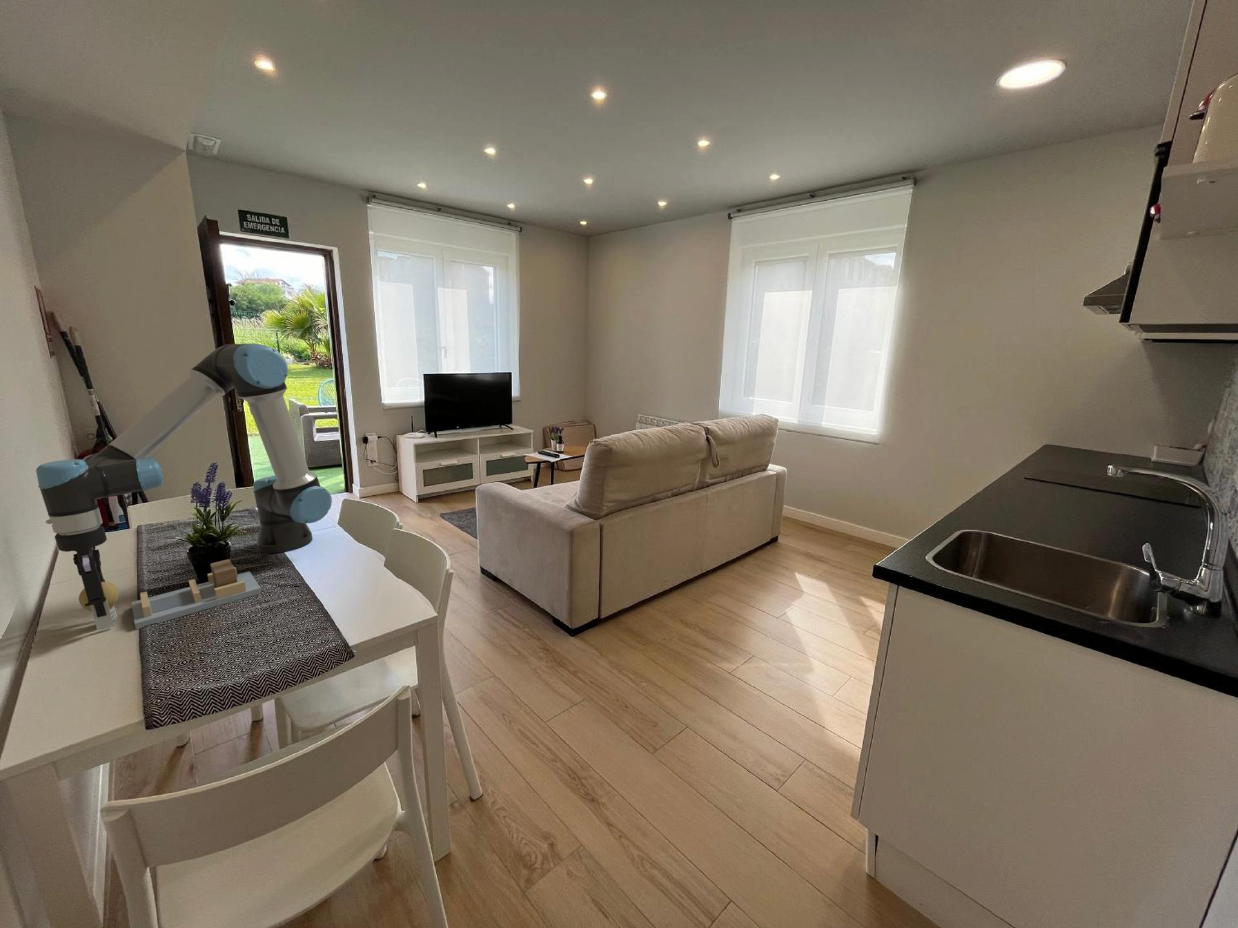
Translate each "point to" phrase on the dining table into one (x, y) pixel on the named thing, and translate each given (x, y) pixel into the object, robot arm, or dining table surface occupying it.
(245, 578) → the jig
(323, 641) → the dining table surface
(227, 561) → the tan wooden stepped block
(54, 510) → the robot arm
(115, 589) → the light bulb
